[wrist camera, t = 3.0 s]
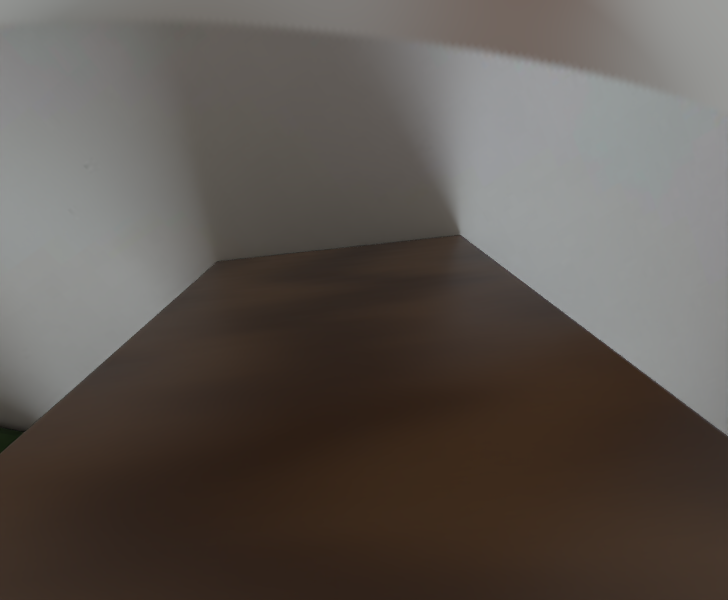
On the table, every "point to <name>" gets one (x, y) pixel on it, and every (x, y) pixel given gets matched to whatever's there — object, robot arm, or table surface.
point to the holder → (365, 448)
